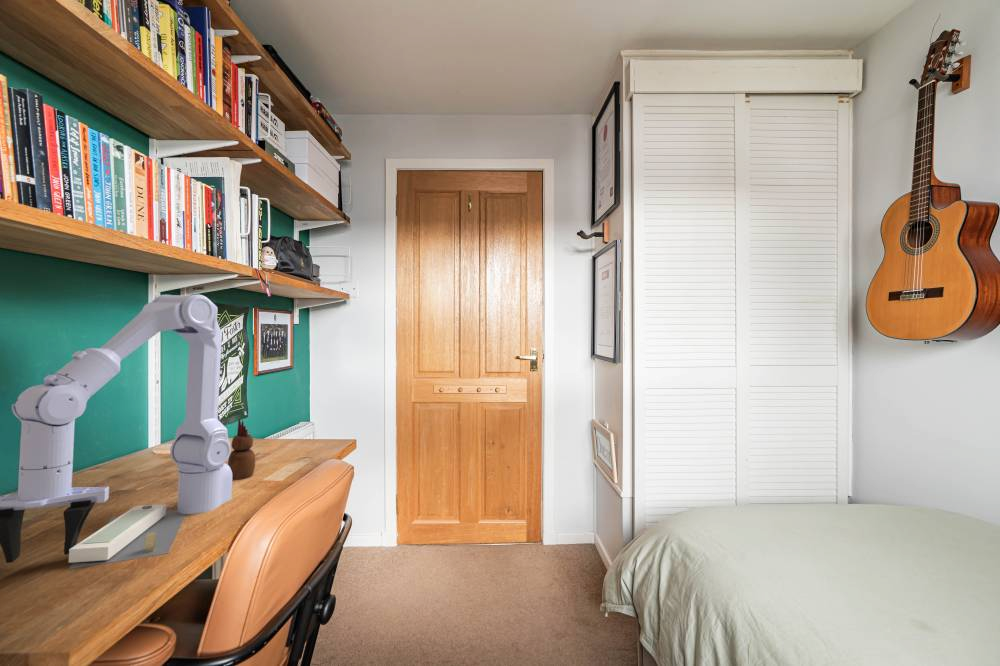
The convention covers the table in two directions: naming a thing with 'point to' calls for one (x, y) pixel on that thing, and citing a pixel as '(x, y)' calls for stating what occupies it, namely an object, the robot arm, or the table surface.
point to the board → (146, 541)
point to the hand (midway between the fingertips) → (42, 555)
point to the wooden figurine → (242, 454)
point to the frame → (117, 534)
